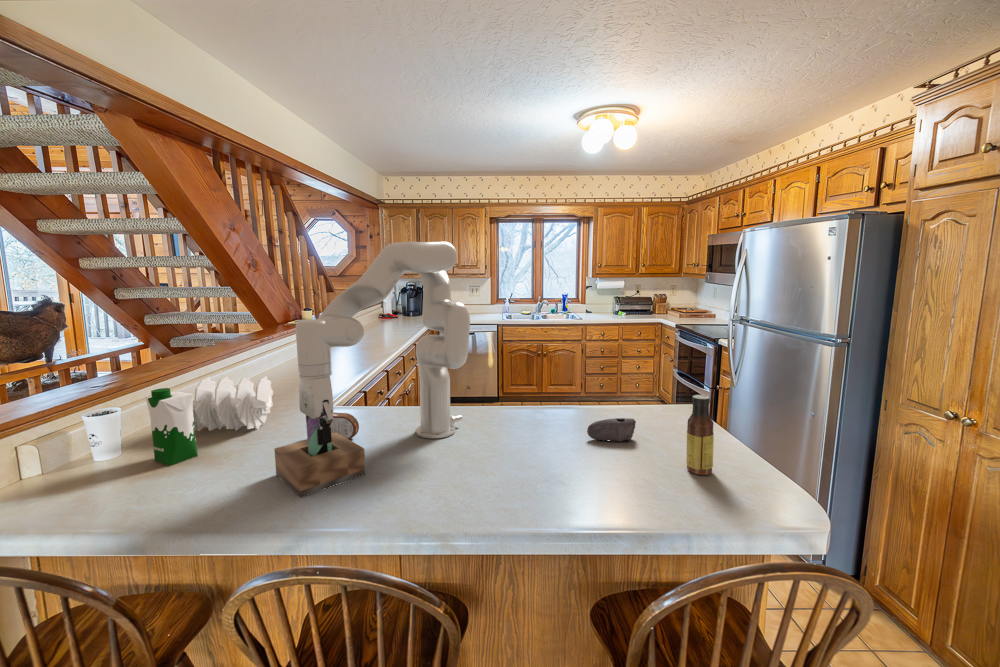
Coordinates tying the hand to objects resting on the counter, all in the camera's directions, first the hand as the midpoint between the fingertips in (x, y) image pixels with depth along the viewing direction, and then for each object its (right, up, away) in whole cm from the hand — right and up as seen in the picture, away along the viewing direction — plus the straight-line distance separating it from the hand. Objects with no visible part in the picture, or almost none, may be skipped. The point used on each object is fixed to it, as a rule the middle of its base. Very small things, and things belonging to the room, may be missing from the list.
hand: (319, 439), depth 109 cm
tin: (-6, -6, +25) cm, 26 cm away
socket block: (0, -9, +1) cm, 9 cm away
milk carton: (-44, -8, +11) cm, 46 cm away
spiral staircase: (-43, -5, +34) cm, 55 cm away
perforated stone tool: (+80, -6, +24) cm, 84 cm away
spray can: (0, -7, +1) cm, 7 cm away
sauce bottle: (+97, -9, +3) cm, 97 cm away
